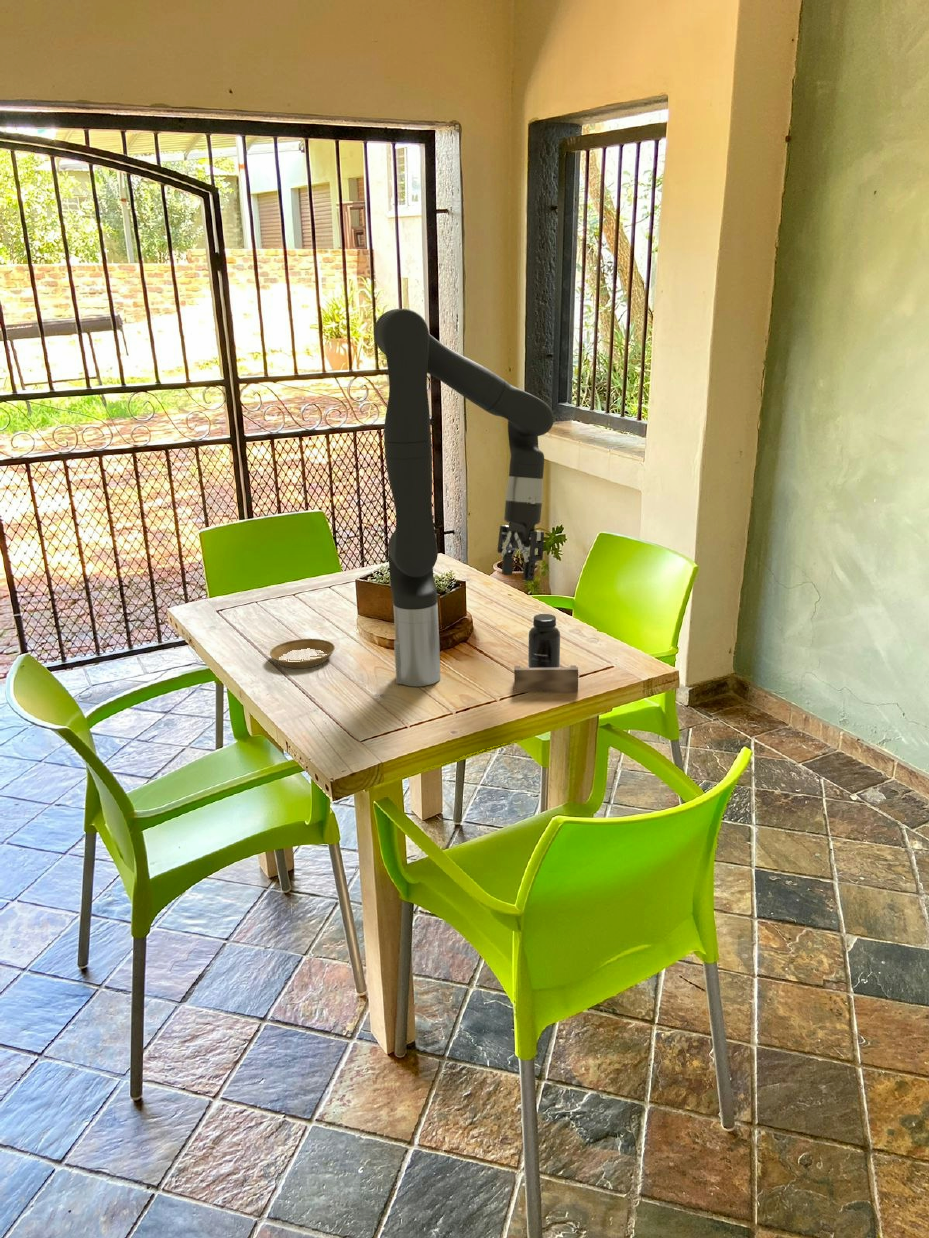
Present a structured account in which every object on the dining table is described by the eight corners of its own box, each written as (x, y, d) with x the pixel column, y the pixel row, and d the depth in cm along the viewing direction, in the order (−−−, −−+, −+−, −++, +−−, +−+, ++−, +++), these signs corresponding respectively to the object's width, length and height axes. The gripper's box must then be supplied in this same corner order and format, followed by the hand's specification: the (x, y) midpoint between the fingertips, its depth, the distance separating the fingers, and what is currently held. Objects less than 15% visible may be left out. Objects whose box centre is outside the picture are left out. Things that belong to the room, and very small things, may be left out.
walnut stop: (514, 692, 184) (514, 670, 183) (514, 681, 190) (514, 659, 188) (578, 691, 184) (578, 669, 182) (576, 680, 189) (576, 658, 187)
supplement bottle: (534, 676, 192) (534, 623, 188) (524, 665, 198) (523, 614, 194) (564, 672, 194) (565, 620, 190) (553, 661, 200) (553, 610, 196)
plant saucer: (257, 666, 203) (256, 655, 202) (297, 645, 215) (296, 634, 214) (309, 676, 196) (308, 665, 195) (348, 654, 209) (347, 643, 208)
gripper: (491, 497, 189) (485, 573, 192) (526, 501, 177) (519, 582, 179) (521, 498, 193) (515, 573, 195) (558, 503, 180) (551, 582, 183)
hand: (517, 577), depth 187 cm, fingers open, 8 cm apart
